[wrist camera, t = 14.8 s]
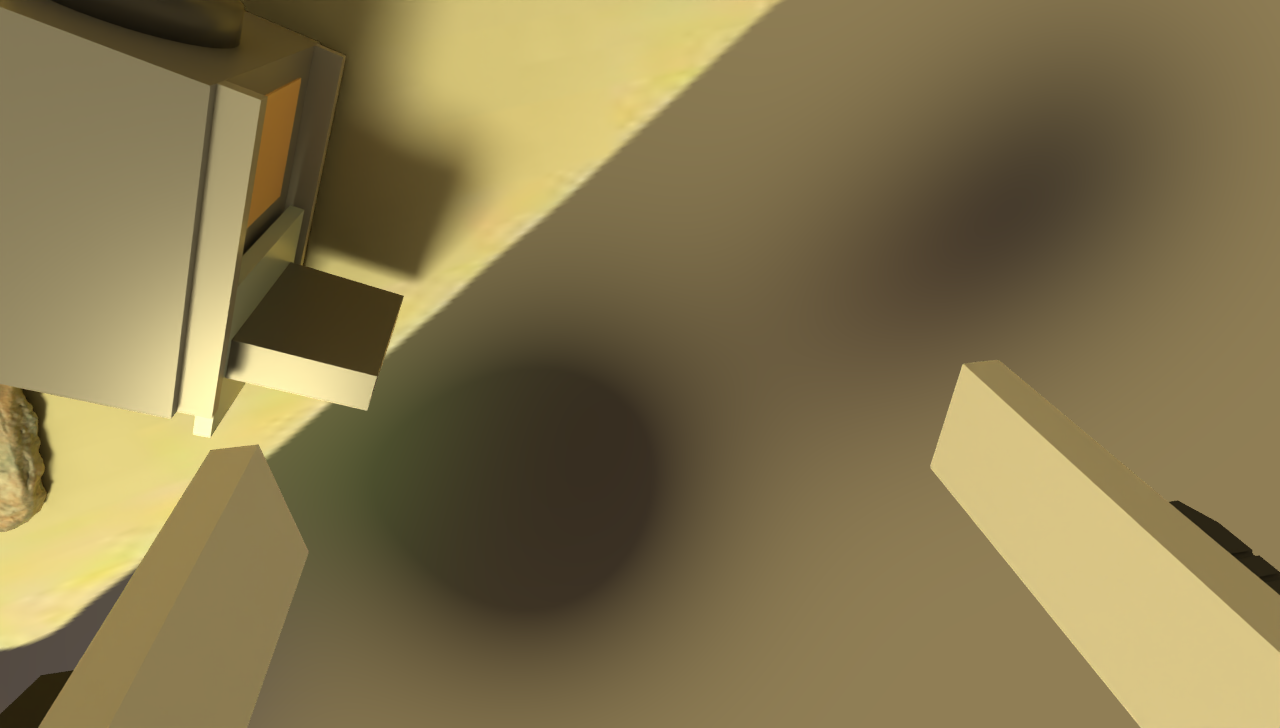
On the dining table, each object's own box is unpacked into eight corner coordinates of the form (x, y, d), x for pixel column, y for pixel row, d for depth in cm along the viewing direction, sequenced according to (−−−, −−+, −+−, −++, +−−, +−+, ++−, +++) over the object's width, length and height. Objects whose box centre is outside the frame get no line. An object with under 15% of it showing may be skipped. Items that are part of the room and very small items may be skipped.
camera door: (290, 205, 39) (213, 287, 29) (418, 247, 42) (388, 335, 32) (267, 325, 43) (192, 434, 33) (386, 356, 45) (350, 465, 35)
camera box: (94, -99, 31) (-212, -148, 18) (356, 17, 36) (264, 46, 23) (83, 224, 39) (-138, 355, 26) (299, 286, 44) (206, 426, 30)
